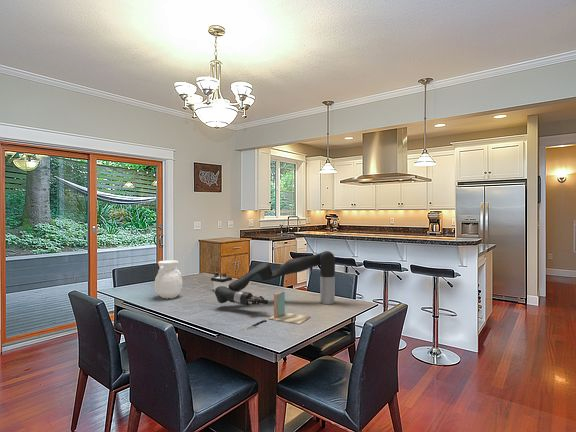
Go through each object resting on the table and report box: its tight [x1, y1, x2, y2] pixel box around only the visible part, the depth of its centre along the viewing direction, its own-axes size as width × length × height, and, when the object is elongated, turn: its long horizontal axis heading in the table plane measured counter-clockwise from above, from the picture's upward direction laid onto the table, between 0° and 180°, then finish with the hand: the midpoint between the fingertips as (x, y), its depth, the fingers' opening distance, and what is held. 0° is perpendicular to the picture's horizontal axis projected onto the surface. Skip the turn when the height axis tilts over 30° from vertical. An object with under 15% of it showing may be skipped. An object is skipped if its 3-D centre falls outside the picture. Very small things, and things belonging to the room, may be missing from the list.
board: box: [268, 312, 311, 325], centre depth 198 cm, size 19×14×1 cm
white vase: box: [153, 259, 183, 300], centre depth 247 cm, size 19×18×25 cm
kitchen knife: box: [239, 319, 268, 332], centre depth 180 cm, size 29×1×10 cm
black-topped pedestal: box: [210, 272, 233, 292], centre depth 266 cm, size 28×26×13 cm
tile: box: [273, 290, 286, 318], centre depth 201 cm, size 2×8×13 cm, turn 152°
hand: (267, 302), depth 203 cm, fingers closed
